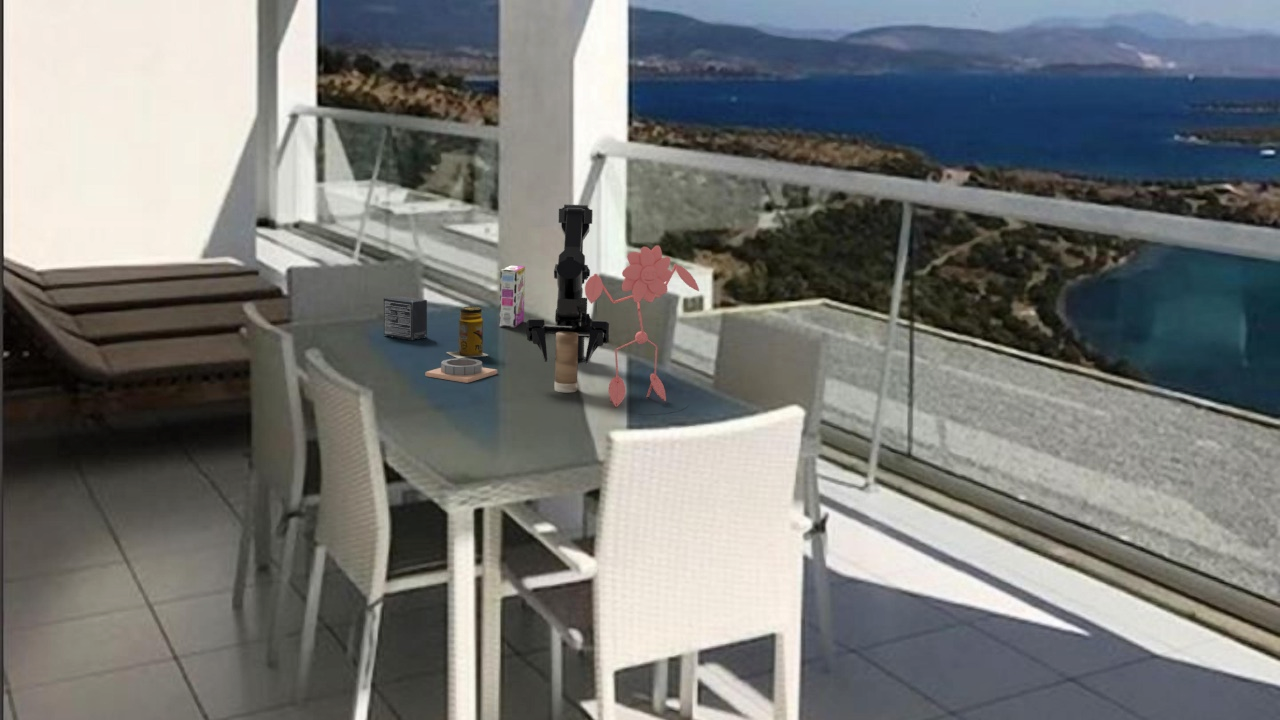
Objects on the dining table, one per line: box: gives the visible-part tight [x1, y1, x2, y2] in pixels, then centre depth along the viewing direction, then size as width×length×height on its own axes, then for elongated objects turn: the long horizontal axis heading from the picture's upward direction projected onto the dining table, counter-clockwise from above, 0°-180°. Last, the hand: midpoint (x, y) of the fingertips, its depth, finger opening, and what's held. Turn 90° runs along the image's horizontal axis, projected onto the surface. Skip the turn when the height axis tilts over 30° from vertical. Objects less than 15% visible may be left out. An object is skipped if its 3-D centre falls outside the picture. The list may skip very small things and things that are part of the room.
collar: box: [424, 357, 498, 384], centre depth 304 cm, size 12×12×3 cm
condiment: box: [446, 306, 489, 359], centre depth 326 cm, size 7×8×12 cm
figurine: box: [584, 245, 700, 408], centre depth 275 cm, size 15×26×35 cm, turn 118°
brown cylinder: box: [554, 331, 579, 393], centre depth 291 cm, size 5×5×13 cm
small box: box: [383, 295, 428, 341], centre depth 347 cm, size 11×6×10 cm, turn 58°
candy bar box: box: [498, 265, 526, 329], centre depth 369 cm, size 11×5×16 cm, turn 172°
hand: (566, 361), depth 290 cm, fingers open, 9 cm apart
